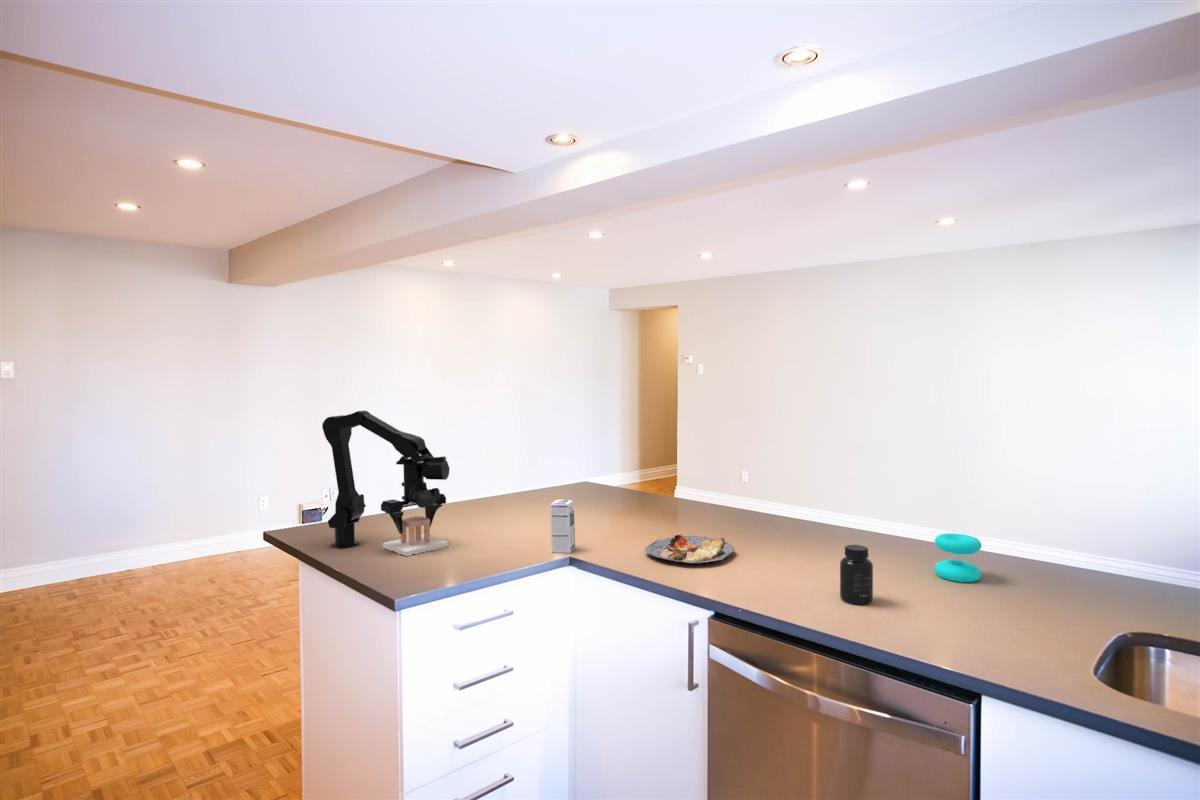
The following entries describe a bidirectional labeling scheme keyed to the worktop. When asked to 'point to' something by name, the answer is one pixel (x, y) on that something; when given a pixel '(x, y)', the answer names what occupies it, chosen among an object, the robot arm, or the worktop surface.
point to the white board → (419, 545)
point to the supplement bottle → (856, 576)
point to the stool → (415, 529)
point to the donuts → (957, 568)
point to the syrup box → (562, 526)
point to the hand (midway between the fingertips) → (415, 530)
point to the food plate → (691, 549)
